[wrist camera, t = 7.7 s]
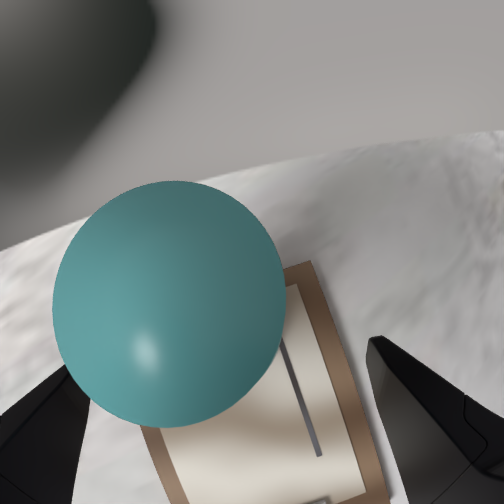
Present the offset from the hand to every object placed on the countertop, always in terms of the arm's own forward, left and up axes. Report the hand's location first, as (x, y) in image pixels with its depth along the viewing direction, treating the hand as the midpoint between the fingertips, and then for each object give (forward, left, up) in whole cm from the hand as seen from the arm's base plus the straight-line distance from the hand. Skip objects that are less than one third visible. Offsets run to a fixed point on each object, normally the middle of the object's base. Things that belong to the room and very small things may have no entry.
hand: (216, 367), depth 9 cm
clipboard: (-4, +1, -8) cm, 9 cm away
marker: (+1, 0, -7) cm, 8 cm away
